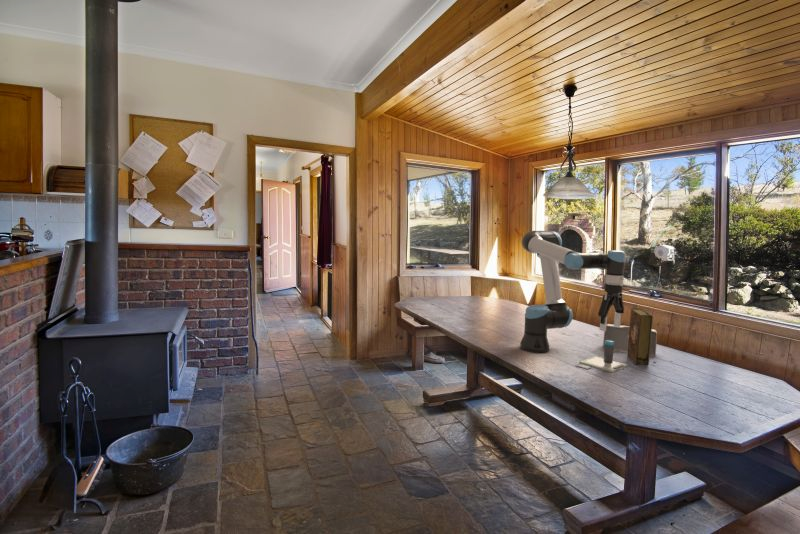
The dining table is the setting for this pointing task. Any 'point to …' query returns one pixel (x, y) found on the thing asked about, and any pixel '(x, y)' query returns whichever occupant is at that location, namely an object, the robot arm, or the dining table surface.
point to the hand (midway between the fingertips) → (609, 328)
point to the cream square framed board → (602, 364)
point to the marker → (608, 353)
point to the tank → (625, 338)
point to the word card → (583, 366)
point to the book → (640, 336)
